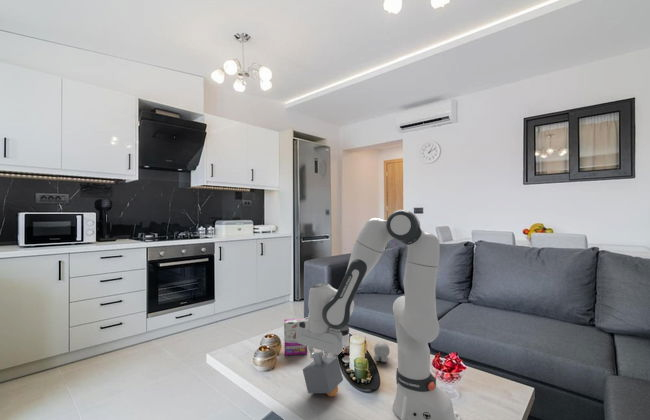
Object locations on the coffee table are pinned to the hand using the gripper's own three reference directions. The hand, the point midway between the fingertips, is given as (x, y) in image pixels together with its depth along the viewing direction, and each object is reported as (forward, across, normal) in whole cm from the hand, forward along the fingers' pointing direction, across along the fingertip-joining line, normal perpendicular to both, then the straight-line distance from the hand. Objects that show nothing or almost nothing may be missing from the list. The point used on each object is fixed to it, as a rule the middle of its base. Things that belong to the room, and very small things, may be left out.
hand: (318, 359), depth 120 cm
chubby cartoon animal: (+12, -12, -37) cm, 41 cm away
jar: (+12, +9, -34) cm, 37 cm away
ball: (+10, -6, 0) cm, 12 cm away
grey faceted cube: (+10, -4, 0) cm, 10 cm away
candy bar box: (+13, +27, -20) cm, 36 cm away
